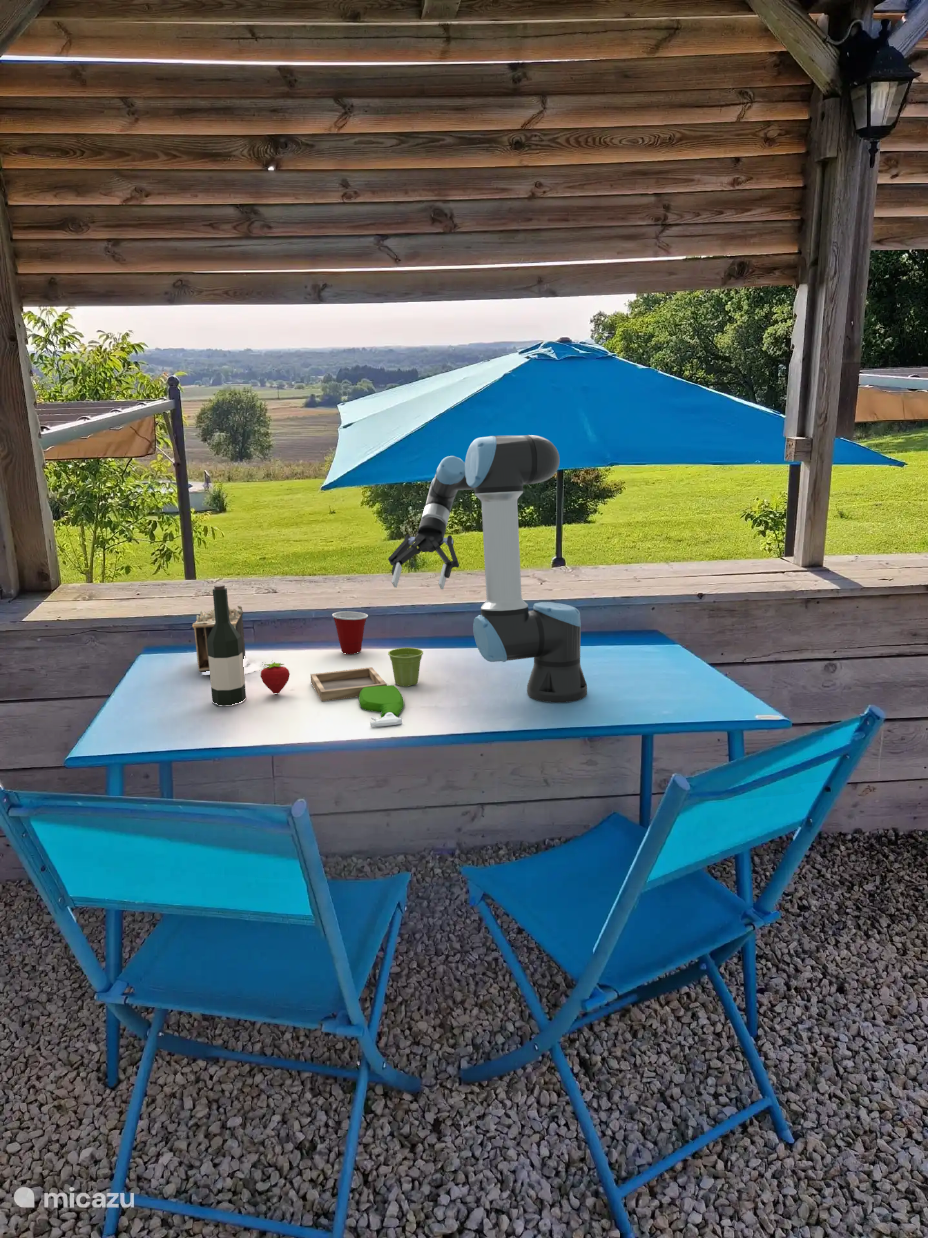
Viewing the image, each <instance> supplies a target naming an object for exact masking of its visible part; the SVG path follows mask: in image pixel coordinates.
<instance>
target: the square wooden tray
mask: <svg viewBox="0 0 928 1238" xmlns="http://www.w3.org/2000/svg"><path fill="white" fill-rule="evenodd" d="M311 683H312V684H311ZM310 684H311V685H313V686H312V687H313V689H314V688H315V689H314V691H315V690H316V691H315V692H316V694H317V695H318V697H319V699H320V700H321V702H328V701H336V700H343V699H344V700H345V699H350V698H351V699H352V698H359V694H360V692H361V690H362V689H363V688H364V687H374V686H387V685H388V683H387V682H386V681H384V679H383V678H382V677H381V675H379V673H378V672H377V671H376V670H375V668H373V667H370V666H369V667H363V668H362V667H361V668H354V669H353V668H352V669H344V670H333V671H326V672H319V673H318V672H317V673H310Z"/></svg>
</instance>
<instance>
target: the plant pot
mask: <svg viewBox="0 0 928 1238" xmlns="http://www.w3.org/2000/svg"><path fill="white" fill-rule="evenodd" d="M423 655H424V651H423V650H422V649H421V648H415V647H398V648H395V649H391V650H389V651H388V653H387V656H389V659H390V662H391V666H392V670H393V671H392V672H393V678H394V683H395V685H398V686H399V687H411V686H416V685H417V684H418V683H419V676H420V666H421V660H422V657H423Z"/></svg>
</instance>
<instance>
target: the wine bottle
mask: <svg viewBox="0 0 928 1238" xmlns="http://www.w3.org/2000/svg"><path fill="white" fill-rule="evenodd" d="M212 598H213V599H212V600H213V609H214V611H215V624H214V626H213V628H212V630H211V632H210V634H209V636H208V638H207V647H208V658H209V669H210V679H209V680H210V687H211V688H210V689H211V698H212V699H211V700H212V701H213V702H214V703H217V704H218V705H232V704H235V703H239V702H241V701H243V700H244V699H245V698H246V699H247V694H246V693H247V692H246V683H245V681H246V680H245V675H244V667H243V655H242V643H241V636H240V634H239V633H238V632H237V630H236V629H235V628H234V626H233V625H232V624H231V622H230V620H229V609H228V606H229V601H228V589H227V588H226V587H225V584H215V585H214V586H213V589H212ZM212 701H211V702H212ZM213 702H212V703H213Z"/></svg>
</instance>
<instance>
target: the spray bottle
mask: <svg viewBox="0 0 928 1238" xmlns="http://www.w3.org/2000/svg"><path fill="white" fill-rule="evenodd" d="M358 701H359V702H358V703H359V706H360V708H361V709H362V710H365V711H369V712H375V713H381V715H380V718H377V717H374V716H371V717H370V719H371V720H373V721H372V722H369V725H370V727H371V728H372V727H373V728H374V727H377V728H380V727H389V726H395V725H396V726H398V725H402V724H403V718H401V717H398V716H399V715H400V713H401V712H402V711H403V709H404V705H405V700H404V696H403V695H402V693H401V691H400V690H399V689H398V687H396V686H395V685H393V684H390V685H389V684H387V686H374V687H364V688H363V689H362V690H361V692H360V694H359V697H358Z"/></svg>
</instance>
